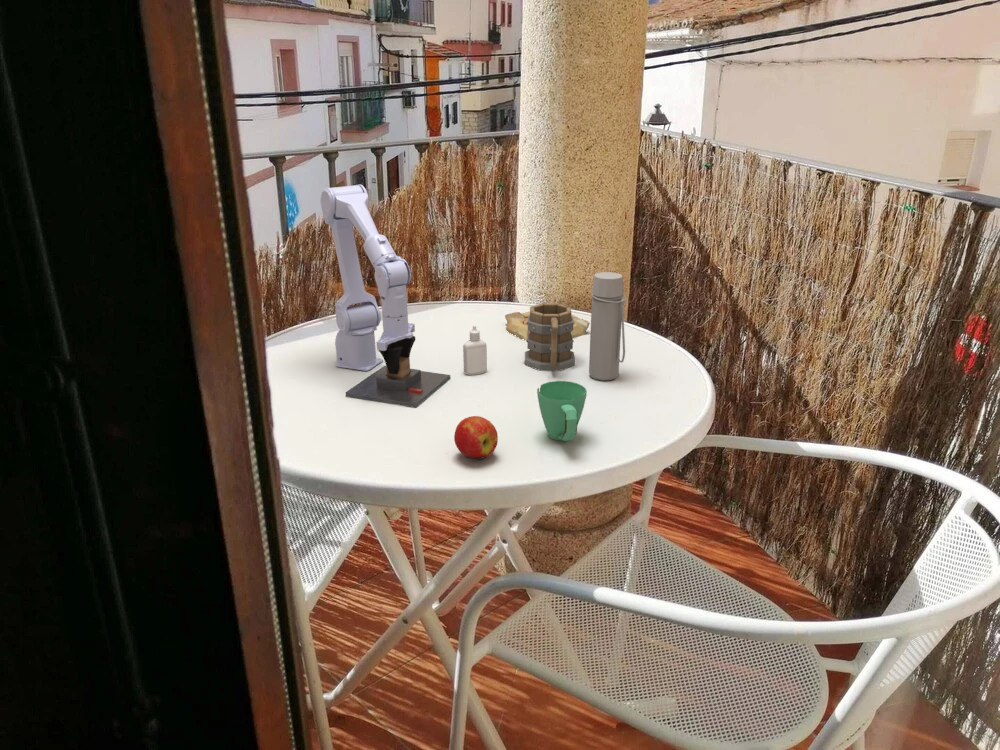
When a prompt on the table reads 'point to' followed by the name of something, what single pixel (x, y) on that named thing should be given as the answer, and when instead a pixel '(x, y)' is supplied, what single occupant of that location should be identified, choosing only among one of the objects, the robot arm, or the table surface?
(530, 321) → the tankard
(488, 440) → the apple
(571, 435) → the mug
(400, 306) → the robot arm
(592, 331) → the water bottle
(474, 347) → the eye dropper bottle
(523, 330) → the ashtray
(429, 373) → the dark grey stepped base
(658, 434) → the table surface
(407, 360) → the walnut post
